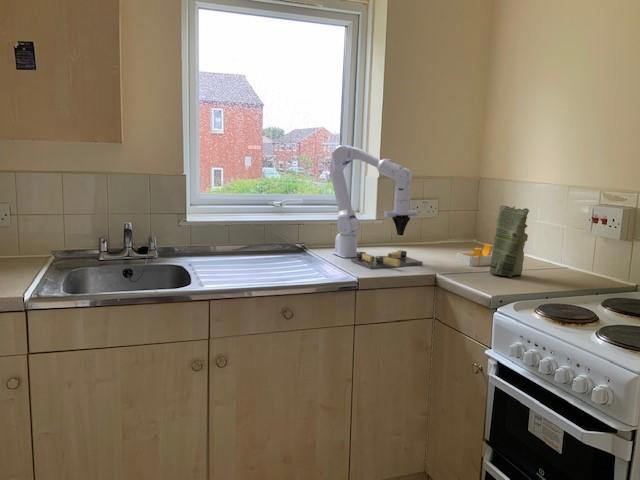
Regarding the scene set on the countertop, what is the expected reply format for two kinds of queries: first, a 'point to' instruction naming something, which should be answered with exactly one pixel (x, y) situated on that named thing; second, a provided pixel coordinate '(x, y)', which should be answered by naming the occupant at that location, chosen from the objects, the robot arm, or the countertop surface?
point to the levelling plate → (374, 265)
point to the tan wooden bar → (365, 256)
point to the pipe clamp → (479, 252)
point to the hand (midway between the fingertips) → (400, 235)
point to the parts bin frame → (473, 259)
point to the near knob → (387, 261)
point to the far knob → (397, 254)
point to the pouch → (509, 242)
